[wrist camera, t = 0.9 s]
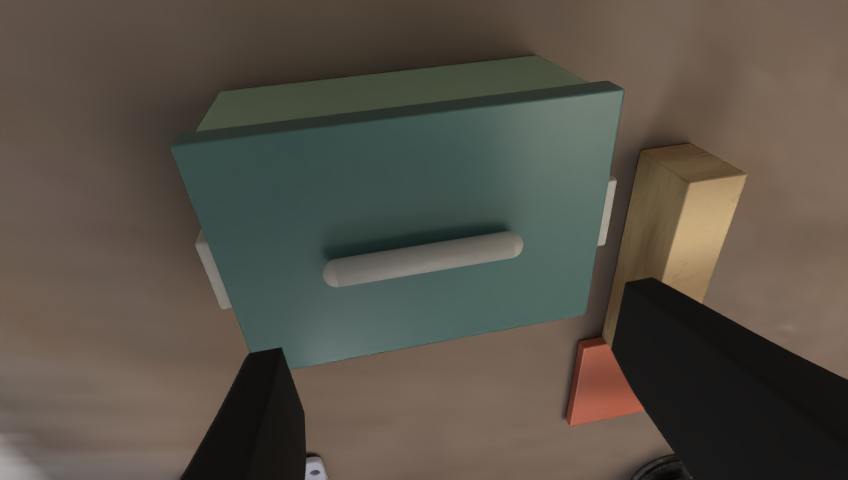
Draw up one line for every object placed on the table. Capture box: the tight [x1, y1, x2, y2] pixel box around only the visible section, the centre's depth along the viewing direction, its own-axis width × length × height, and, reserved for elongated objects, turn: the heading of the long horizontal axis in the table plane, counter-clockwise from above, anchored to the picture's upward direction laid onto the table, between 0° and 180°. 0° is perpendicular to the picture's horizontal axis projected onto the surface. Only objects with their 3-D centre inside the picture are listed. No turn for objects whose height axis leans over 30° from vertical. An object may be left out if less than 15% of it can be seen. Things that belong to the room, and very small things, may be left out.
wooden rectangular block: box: [566, 143, 747, 427], centre depth 23 cm, size 18×5×3 cm, turn 4°
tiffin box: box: [170, 55, 624, 370], centre depth 15 cm, size 8×12×6 cm, turn 94°
